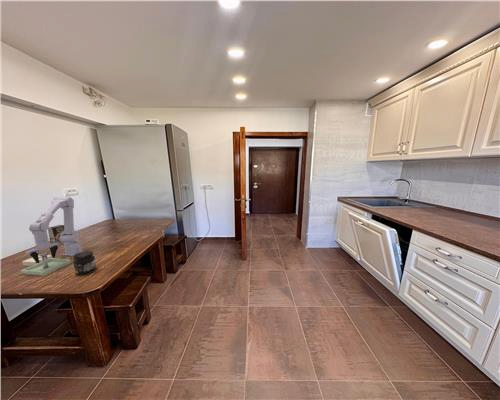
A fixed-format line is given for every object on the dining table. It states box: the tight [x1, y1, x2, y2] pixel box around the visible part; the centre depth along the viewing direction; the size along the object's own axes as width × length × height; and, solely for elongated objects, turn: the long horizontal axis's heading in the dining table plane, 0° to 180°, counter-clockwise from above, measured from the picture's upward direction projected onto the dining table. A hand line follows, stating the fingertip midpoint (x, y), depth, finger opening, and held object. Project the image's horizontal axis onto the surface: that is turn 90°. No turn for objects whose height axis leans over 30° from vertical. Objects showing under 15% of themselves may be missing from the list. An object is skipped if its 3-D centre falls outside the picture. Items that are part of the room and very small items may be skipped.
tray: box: [20, 257, 72, 277], centre depth 121 cm, size 16×16×2 cm
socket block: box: [22, 254, 53, 267], centre depth 129 cm, size 10×10×3 cm
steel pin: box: [38, 252, 50, 268], centre depth 121 cm, size 4×4×9 cm
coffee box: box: [47, 224, 64, 246], centre depth 159 cm, size 9×6×16 cm
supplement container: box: [72, 250, 97, 276], centre depth 117 cm, size 10×10×12 cm
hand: (45, 259), depth 121 cm, fingers open, 7 cm apart
